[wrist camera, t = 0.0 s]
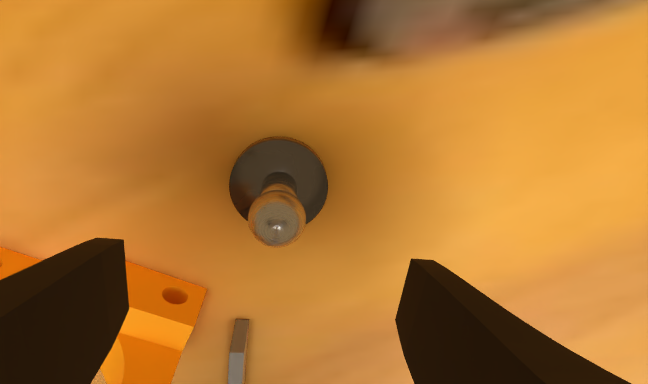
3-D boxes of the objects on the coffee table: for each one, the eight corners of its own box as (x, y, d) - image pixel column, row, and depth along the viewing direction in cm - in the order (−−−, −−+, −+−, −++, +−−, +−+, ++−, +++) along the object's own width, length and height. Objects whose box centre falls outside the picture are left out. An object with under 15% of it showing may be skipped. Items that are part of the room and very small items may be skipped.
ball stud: (319, 228, 20) (330, 288, 15) (229, 221, 19) (209, 282, 14) (332, 142, 18) (349, 177, 13) (233, 131, 17) (211, 163, 12)
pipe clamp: (207, 287, 21) (175, 382, 15) (182, 339, 22) (143, 445, 16) (-19, 209, 18) (-174, 288, 12) (-33, 274, 19) (-179, 376, 13)
